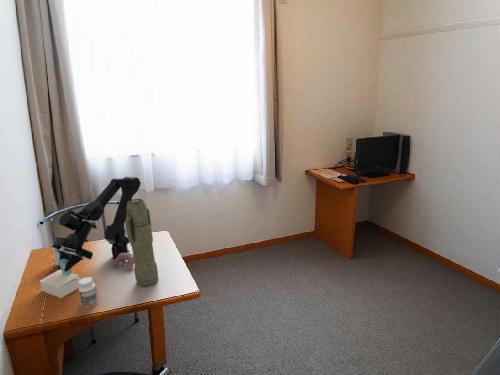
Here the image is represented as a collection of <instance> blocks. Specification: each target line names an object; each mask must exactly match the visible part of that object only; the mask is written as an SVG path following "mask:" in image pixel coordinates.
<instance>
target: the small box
mask: <svg viewBox="0 0 500 375" xmlns="http://www.w3.org/2000/svg"><path fill="white" fill-rule="evenodd" d="M54 243H55V242H53V243H52V244H51V249H52V253H53V257H54V260H55V264H56V266H58V265H59V257H60V255H59V252H58V251H57V249H55V248H53V247H52V245H53V244H54ZM70 253H71V254H73V253H72V252H70Z"/></svg>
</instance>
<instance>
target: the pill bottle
mask: <svg viewBox="0 0 500 375" xmlns="http://www.w3.org/2000/svg"><path fill="white" fill-rule="evenodd" d="M79 286H80V287H79V288H78V293H79V297H80V302H81V306H82V307H83V308H86V309H87V308H92V307H94V306H96V305H97V304H98V303H99V296H98V292H97V286H96V284H95V282H94V280H93V278H92V277H90V276H86V277H82V278H80V281H79Z"/></svg>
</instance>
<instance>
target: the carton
mask: <svg viewBox="0 0 500 375" xmlns="http://www.w3.org/2000/svg"><path fill="white" fill-rule="evenodd" d="M80 280H81V278H80V276H79V277H78V278H76V279H74V280H73V281H71V282H70V283H68V284H66V285H65V286H63V287H62V288H60V289H57V288H54V287H52V286H49V285H46V284H43V283H41V282H40V281H39V284H40V288H41V292H44V293H46V294H49V295H51V296H53V297H56V298H59V299H63V298H64V297H66V296H68V295H69V294H71V293H73V292H74V291H76V290H79V287H80V286H79V281H80Z"/></svg>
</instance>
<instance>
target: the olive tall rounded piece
mask: <svg viewBox="0 0 500 375" xmlns="http://www.w3.org/2000/svg"><path fill="white" fill-rule="evenodd" d="M126 211H127V217H126V220H125V223H124V224H125V230H126V234H127V237H128V241H129V245H130V246H131V251H132V255H133V257H134V266H133V267H134V268H133V271H134V276H135V280H136V285H137V286H138V287H141V288H148V287H151V286H154V285H155V284H157V283H158V282H159V276H158V275H159V272H158V265H157V264H158V263H157V262H156V261H155V253H154V246H153V242H154V237H153V229H152V228H153V227H152V222H151V221H152V220H151V214H150V210H149V208H148V206H147V204H146V203H145V201H144V199H142V198H134V199H133V198H132V200H130V201H129V202H127V208H126Z"/></svg>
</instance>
